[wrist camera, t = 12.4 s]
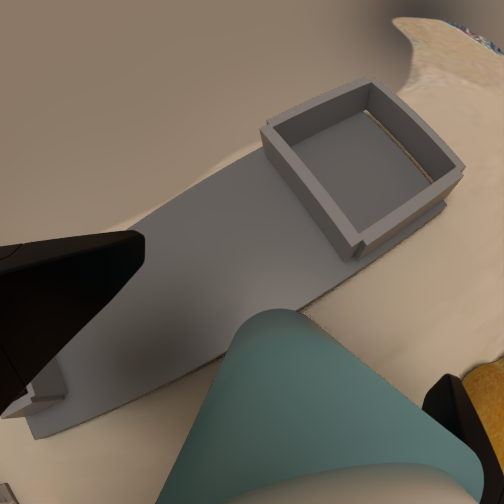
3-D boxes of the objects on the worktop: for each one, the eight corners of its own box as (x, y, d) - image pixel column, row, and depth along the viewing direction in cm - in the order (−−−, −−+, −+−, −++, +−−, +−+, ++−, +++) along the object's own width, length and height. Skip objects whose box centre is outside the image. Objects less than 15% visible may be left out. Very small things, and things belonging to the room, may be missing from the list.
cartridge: (335, 387, 14) (476, 588, 1) (242, 409, 14) (204, 652, 1) (316, 297, 14) (559, 379, 1) (218, 321, 14) (34, 503, 1)
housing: (361, 107, 18) (368, 64, 15) (449, 205, 15) (478, 172, 12) (8, 331, 18) (-29, 324, 14) (43, 438, 15) (5, 445, 11)
